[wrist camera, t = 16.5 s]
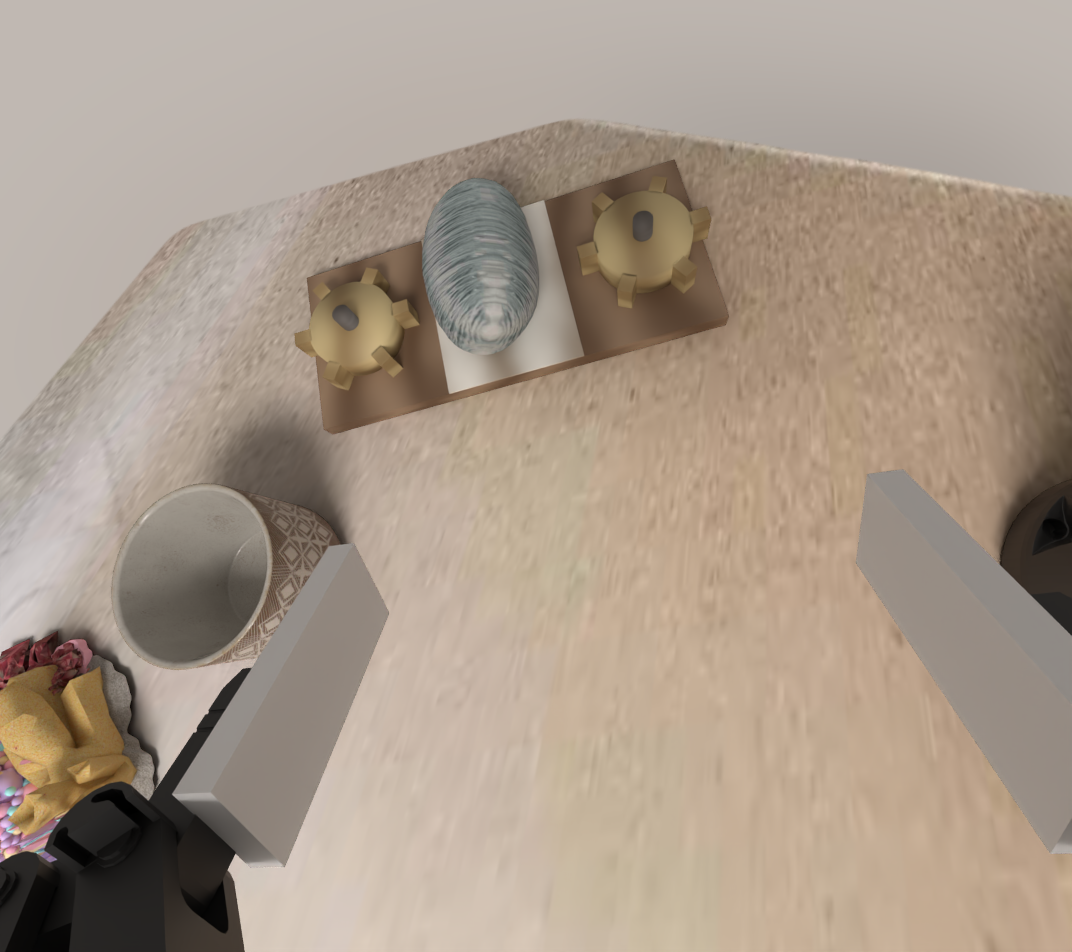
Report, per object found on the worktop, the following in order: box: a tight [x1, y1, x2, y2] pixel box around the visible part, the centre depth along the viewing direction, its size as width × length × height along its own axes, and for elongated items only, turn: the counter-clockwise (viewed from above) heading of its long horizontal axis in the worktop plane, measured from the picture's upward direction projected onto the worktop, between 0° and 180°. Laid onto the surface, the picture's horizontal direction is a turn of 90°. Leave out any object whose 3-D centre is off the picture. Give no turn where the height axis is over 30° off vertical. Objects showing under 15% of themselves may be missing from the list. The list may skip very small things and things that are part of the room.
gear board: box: [295, 160, 729, 434], centre depth 45 cm, size 37×16×6 cm, turn 102°
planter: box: [111, 483, 340, 670], centre depth 41 cm, size 13×13×10 cm
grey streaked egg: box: [422, 178, 539, 355], centre depth 43 cm, size 14×10×10 cm
